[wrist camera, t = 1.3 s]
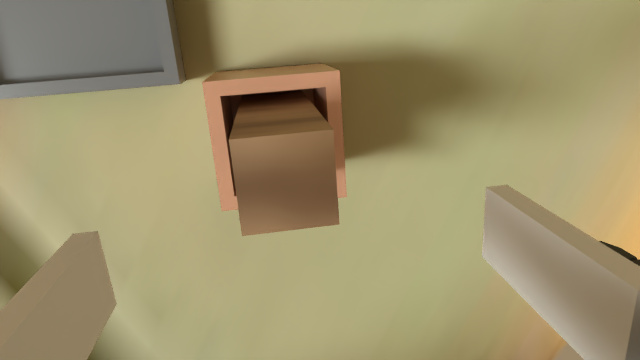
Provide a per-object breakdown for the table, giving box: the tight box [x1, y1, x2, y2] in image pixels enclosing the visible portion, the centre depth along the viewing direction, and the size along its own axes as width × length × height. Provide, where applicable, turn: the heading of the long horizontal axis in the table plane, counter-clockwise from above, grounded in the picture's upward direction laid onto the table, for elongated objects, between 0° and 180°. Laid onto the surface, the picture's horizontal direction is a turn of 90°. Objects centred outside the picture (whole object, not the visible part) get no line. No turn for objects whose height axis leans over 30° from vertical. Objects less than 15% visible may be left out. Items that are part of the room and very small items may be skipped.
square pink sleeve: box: [202, 63, 347, 211], centre depth 35 cm, size 9×9×9 cm
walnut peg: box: [229, 90, 339, 236], centre depth 30 cm, size 5×5×17 cm
